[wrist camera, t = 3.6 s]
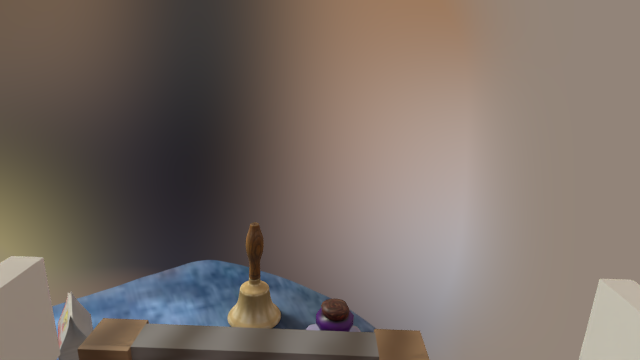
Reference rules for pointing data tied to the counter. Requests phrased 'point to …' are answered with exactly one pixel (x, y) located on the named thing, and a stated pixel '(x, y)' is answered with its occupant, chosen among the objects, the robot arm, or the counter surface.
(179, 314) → the counter surface
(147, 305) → the counter surface
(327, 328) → the potion bottle
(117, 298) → the counter surface
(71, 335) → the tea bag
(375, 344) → the gate frame
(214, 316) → the counter surface
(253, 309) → the hand bell
